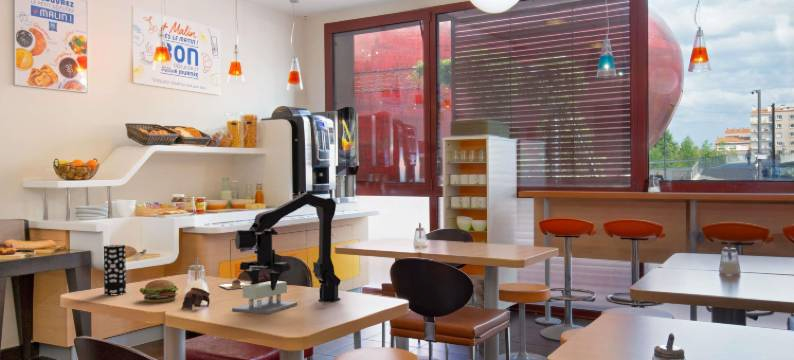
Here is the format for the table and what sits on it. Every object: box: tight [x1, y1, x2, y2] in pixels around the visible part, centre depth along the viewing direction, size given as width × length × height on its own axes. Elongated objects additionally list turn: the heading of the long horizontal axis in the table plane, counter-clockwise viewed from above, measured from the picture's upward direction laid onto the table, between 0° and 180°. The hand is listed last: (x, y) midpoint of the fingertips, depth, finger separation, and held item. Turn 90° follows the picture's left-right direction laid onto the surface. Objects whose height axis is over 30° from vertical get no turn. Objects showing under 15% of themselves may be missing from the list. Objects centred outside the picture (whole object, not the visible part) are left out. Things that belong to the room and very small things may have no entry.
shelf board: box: [241, 280, 288, 300], centre depth 246 cm, size 6×16×4 cm, turn 146°
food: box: [139, 279, 179, 303], centre depth 264 cm, size 14×14×8 cm
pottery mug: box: [181, 287, 211, 310], centre depth 248 cm, size 12×10×8 cm
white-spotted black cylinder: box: [103, 244, 127, 296], centre depth 279 cm, size 8×8×20 cm
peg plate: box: [231, 294, 298, 315], centre depth 246 cm, size 16×18×4 cm
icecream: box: [249, 273, 270, 285], centre depth 285 cm, size 7×7×15 cm
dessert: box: [218, 276, 251, 291], centre depth 293 cm, size 12×12×5 cm
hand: (265, 289), depth 246 cm, fingers closed on shelf board, 7 cm apart
